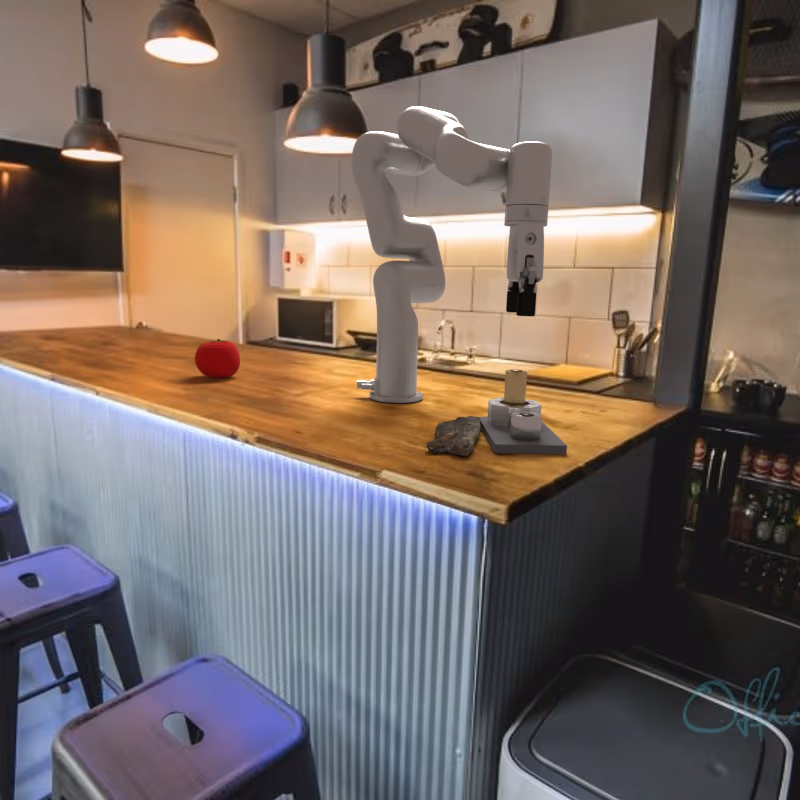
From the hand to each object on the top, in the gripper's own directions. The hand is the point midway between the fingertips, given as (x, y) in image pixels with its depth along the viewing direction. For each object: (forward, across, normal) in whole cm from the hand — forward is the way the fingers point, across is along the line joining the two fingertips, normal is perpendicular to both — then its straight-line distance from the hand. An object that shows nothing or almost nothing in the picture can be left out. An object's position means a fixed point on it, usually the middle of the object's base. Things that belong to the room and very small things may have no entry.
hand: (519, 314), depth 113 cm
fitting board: (+22, -5, 0) cm, 23 cm away
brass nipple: (+21, 0, 0) cm, 21 cm away
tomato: (+23, +53, +70) cm, 90 cm away
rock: (+23, -7, +11) cm, 26 cm away
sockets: (+21, -4, 0) cm, 21 cm away
